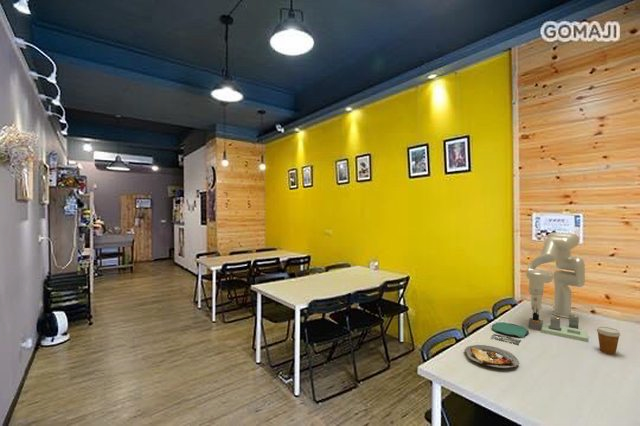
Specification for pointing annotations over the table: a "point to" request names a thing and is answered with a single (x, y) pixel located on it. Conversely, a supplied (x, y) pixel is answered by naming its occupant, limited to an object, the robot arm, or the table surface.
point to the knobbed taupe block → (573, 321)
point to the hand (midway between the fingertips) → (535, 319)
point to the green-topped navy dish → (509, 331)
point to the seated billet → (555, 323)
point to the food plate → (491, 356)
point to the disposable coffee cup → (608, 339)
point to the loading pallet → (563, 332)
